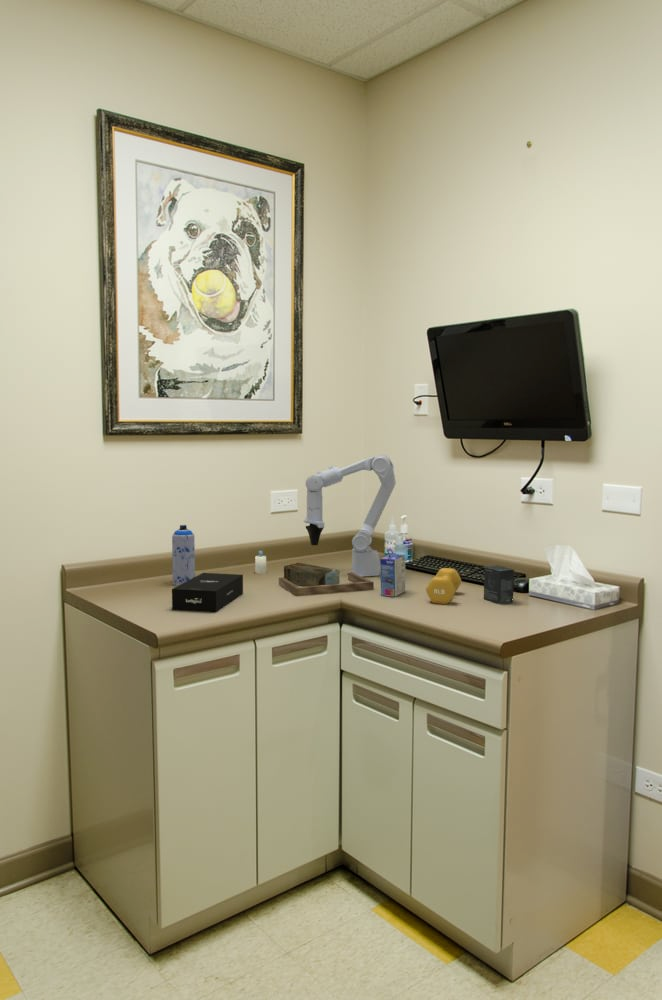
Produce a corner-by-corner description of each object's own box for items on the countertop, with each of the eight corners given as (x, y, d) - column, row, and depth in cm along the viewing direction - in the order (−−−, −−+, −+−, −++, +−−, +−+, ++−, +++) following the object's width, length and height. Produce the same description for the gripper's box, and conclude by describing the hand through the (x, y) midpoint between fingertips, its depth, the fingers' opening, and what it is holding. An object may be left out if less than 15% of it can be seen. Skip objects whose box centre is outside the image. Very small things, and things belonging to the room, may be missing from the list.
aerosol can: (193, 580, 265) (193, 523, 263) (197, 585, 258) (196, 526, 256) (170, 581, 263) (170, 524, 261) (173, 586, 255) (172, 527, 253)
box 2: (513, 602, 235) (514, 568, 234) (498, 604, 232) (499, 570, 231) (497, 597, 242) (498, 564, 241) (483, 599, 239) (483, 566, 238)
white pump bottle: (264, 571, 282) (264, 549, 282) (267, 573, 279) (267, 551, 278) (254, 571, 281) (253, 550, 280) (257, 573, 277) (257, 552, 276)
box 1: (203, 592, 248) (202, 572, 247) (243, 594, 245) (242, 574, 244) (172, 611, 223) (171, 588, 223) (216, 613, 221) (215, 591, 220)
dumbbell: (434, 591, 251) (435, 566, 250) (462, 592, 248) (462, 568, 248) (424, 603, 233) (424, 577, 232) (454, 606, 230) (454, 579, 230)
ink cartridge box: (390, 589, 252) (390, 546, 251) (406, 591, 250) (406, 547, 248) (379, 595, 243) (379, 550, 242) (395, 597, 241) (396, 552, 240)
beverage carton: (325, 591, 250) (325, 571, 250) (282, 583, 262) (282, 564, 262) (340, 587, 256) (340, 567, 256) (298, 579, 269) (297, 561, 268)
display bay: (351, 579, 269) (351, 572, 268) (373, 589, 252) (373, 582, 252) (278, 584, 259) (278, 577, 258) (296, 596, 242) (296, 588, 242)
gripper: (297, 506, 282) (297, 542, 283) (311, 510, 268) (311, 548, 270) (315, 505, 284) (315, 541, 286) (329, 509, 271) (329, 547, 272)
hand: (314, 545), depth 278 cm, fingers closed
